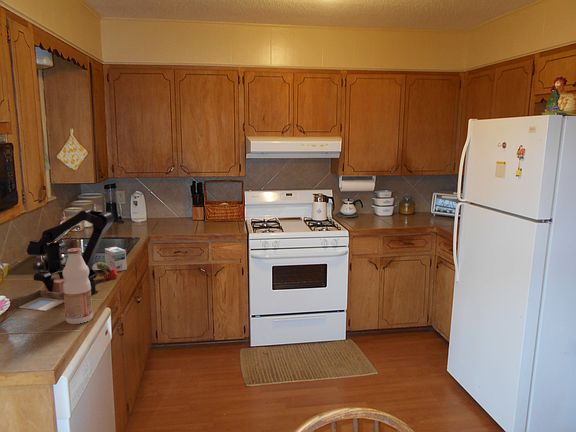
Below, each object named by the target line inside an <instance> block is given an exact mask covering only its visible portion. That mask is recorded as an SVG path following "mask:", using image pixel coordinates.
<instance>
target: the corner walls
mask: <svg viewBox="0 0 576 432" xmlns="http://www.w3.org/2000/svg"><path fill="white" fill-rule="evenodd" d="M39 297H41V298H49V299H57V300H64V293H56V292H48V291H45V290H41V289H40V290H37V291H34V292H32V293H30V294H27V295H25V296H23V297H20V298H18V299H16V301H15V302H16V308H18V309H20V308H19V307H20V306H22V305H24V304H26V303H28V302H31V301H33V300H35V299H37V298H39Z"/></svg>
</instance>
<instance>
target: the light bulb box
mask: <svg viewBox="0 0 576 432" xmlns="http://www.w3.org/2000/svg"><path fill="white" fill-rule="evenodd" d="M104 254H105V255H104V258H105V264H107V265H109V266H111V267H113V268H117V269H116V273H117V272H120V271H126V270H128V268H127V266H128V265H127V250H126V249H123V248H121V247H118V246H112V247H111V246H110V247H107V248H104ZM114 265H116V266H114Z"/></svg>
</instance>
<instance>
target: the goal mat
mask: <svg viewBox="0 0 576 432" xmlns="http://www.w3.org/2000/svg"><path fill="white" fill-rule="evenodd" d="M63 303H64V300H57V299H49V298H41V297H39V298H37V299H35V300H33V301H31V302H28V303H26V304H24V305H22V306H20V307H19V308H18V309H27V310H35V311H42V312H47V311H48V310H51V309H53V308H55V307H57V306H58V305H61V304H63Z"/></svg>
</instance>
